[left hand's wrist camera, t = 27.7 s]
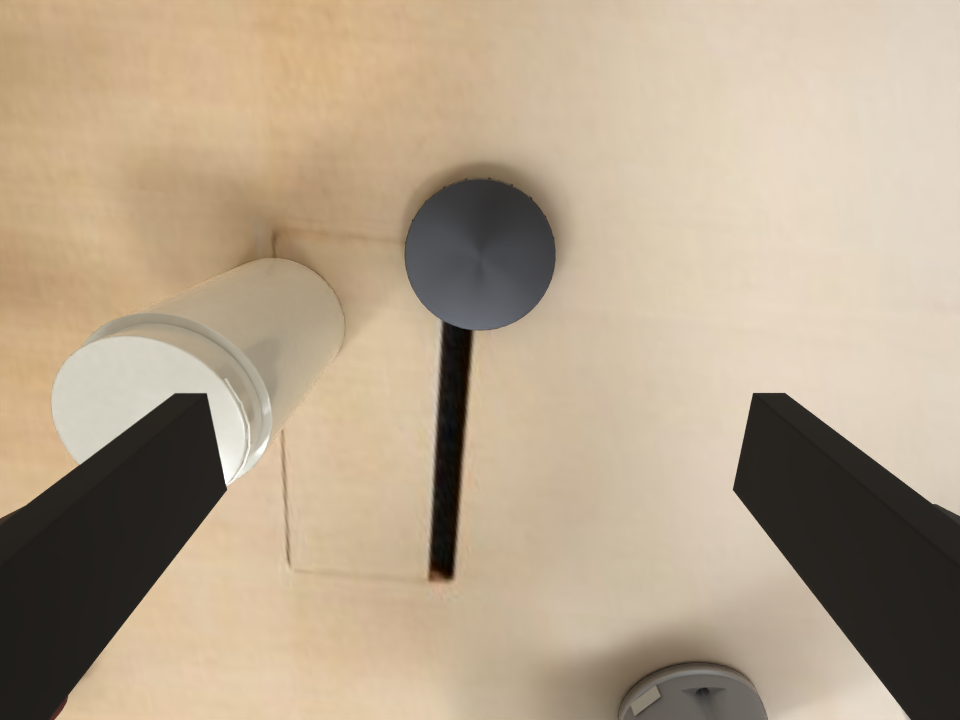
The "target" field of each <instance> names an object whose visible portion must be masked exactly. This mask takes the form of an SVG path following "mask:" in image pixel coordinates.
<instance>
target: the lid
mask: <svg viewBox="0 0 960 720" xmlns="http://www.w3.org/2000/svg"><path fill="white" fill-rule="evenodd" d="M405 243H406V245H405V264H406V265H405V266H406V270H407V274H408V278H409V281H410V283H411V286H412V288H413V290H414V292H415V293H416V295H417V297H418V298H419V299H420V301H421V302H422V303H423V305H424V306H425V307H426V308H427V309H428V310H429V311H430V312H432V313H433V314H434V315H435V316H437V317H438V318H440V319H441V320H443V321H445V322H447V323H449V324H451V325H454V326H457V327H460V328H464V329H469V330H491V329H497V328H501V327H504V326H507V325H509V324H511V323H513V322H516V321H517V320H519V319H520V318H522V317H524V316H525V315H526V314H527V313H529V312H530V311H531V310H532V309H533V308H534V307H535V306H536V305H537V304H538V302H539V301H540V300H541V298H542V297H543V296H544V294H545V292H546V290H547V288H548V286H549V284H550V281H551V279H552V275H553V271H554V266H555V244H554V237H553V234H552V231H551V228H550V226H549V223H548V221H547V219H546V216H545V215H544V214H543V212H542V211H541V210H540V208H539V207H538V206H537V205H536V203H535V202H534V201H533V200H532V198H531V197H530V196H529V197H528V196H527V195H526V194H524V193H523V192H522V191H520V190H519V189H517V188H515V187H513V185H512V184H507V183H504V182H502V181H498V180H494V179H490V178H488V179H486V178H473V179H467V178H466V179H465V180H462V181H459V182H456V183H453V184H451V185H449V186H447V187H446V186H444V187H443V189H442V190H440V191H439V192H437V193H436V194H435V195H433V196H432V197H431V198H430V199H429V200H426V201H425V204H424V205H423V206H422V207H421V209H420V210H419V211H418V213H417V214H416V216H415V218H414V219H413V220H412V224H411V226H410V228H409V232H408V235H407V239H406V242H405Z"/></svg>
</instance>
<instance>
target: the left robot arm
mask: <svg viewBox="0 0 960 720" xmlns="http://www.w3.org/2000/svg"><path fill="white" fill-rule="evenodd" d="M226 491H227V487H226V482H225V478H224V473H223V468H222V463H221V458H220V454H219V449H218V444H217V439H216V434H215V430H214V425H213V420H212V415H211V410H210V406H209V401H208V396H207V393H174V394H173V395H172V396H170V397H169V398H168V399H166V400H165V401H164V402H163V403H161V404H160V405H159V406H157V407H156V408H155V409H153V410H152V411H151V412H149V413H148V414H147V415H145V416H144V417H143V418H141V419H140V420H139V421H137V422H136V423H135V424H133V425H132V426H131V427H129V428H128V429H127V430H125V431H124V432H123V433H121V434H120V435H119V436H117V437H116V438H115V439H113V440H112V441H111V442H109V443H108V444H107V445H105V446H104V447H103V448H101V449H100V450H99V451H97V452H96V453H95V454H93V455H92V456H91V457H90V458H88V459H87V460H86V461H84V462H83V463H82V464H80V465H79V466H78V467H76V468H75V469H74V470H72V471H71V472H70V473H68V474H67V475H66V476H64V477H63V478H62V479H60V480H59V481H58V482H56V483H55V484H54V485H52V486H51V487H50V488H48V489H47V490H46V491H44V492H43V493H42V494H40V495H39V496H38V497H36V498H35V499H34V500H32V501H31V502H30V503H28V504H27V505H26V506H24V507H22V508H20V509H18V510H16V511H14V512H12V513H10V514H8V515H6V516H4V517H2V518H0V720H49V719H50V718H51V717H52V715H53V714H54V713H55V711H56V710H57V709H58V708H59V706H60V705H61V704H62V702H63V701H64V700H65V698H66V697H67V696H68V695H69V693H70V692H71V691H72V689H73V688H74V687H75V686H76V684H77V683H78V682H79V680H80V679H81V678H82V677H83V675H84V674H85V673H86V671H87V670H88V669H89V668H90V666H91V665H92V664H93V662H94V661H95V660H96V658H97V657H98V656H99V655H100V653H101V652H102V651H103V649H104V648H105V647H106V646H107V644H108V643H109V642H110V640H111V639H112V638H113V637H114V635H115V634H116V633H117V631H118V630H119V629H120V627H121V626H122V625H123V624H124V622H125V621H126V620H127V618H128V617H129V616H130V615H131V613H132V612H133V611H134V609H135V608H136V607H137V606H138V604H139V603H140V602H141V600H142V599H143V598H144V596H145V595H146V594H147V593H148V591H149V590H150V589H151V587H152V586H153V585H154V584H155V582H156V581H157V580H158V578H159V577H160V576H161V575H162V573H163V572H164V571H165V569H166V568H167V567H168V565H169V564H170V563H171V562H172V560H173V559H174V558H175V556H176V555H177V554H178V553H179V551H180V550H181V549H182V547H183V546H184V545H185V544H186V542H187V541H188V540H189V538H190V537H191V536H192V535H193V533H194V532H195V531H196V529H197V528H198V527H199V525H200V524H201V523H202V522H203V520H204V519H205V518H206V516H207V515H208V514H209V513H210V511H211V510H212V509H213V507H214V506H215V505H216V504H217V502H218V501H219V500H220V498H221V497H222V496H223V494H224V493H225V492H226ZM733 491H734V492H735V493H736V494H737V496H738V497H739V498H740V500H741V501H742V502H743V504H744V505H745V506H746V507H747V509H748V510H749V511H750V513H751V514H752V515H753V516H754V518H755V519H756V520H757V522H758V523H759V524H760V525H761V527H762V528H763V529H764V531H765V532H766V533H767V535H768V536H769V537H770V538H771V540H772V541H773V542H774V544H775V545H776V546H777V547H778V549H779V550H780V551H781V553H782V554H783V555H784V556H785V558H786V559H787V560H788V562H789V563H790V564H791V565H792V567H793V568H794V569H795V571H796V572H797V573H798V575H799V576H800V577H801V578H802V580H803V581H804V582H805V584H806V585H807V586H808V587H809V589H810V590H811V591H812V593H813V594H814V595H815V596H816V598H817V599H818V600H819V602H820V603H821V604H822V606H823V607H824V608H825V609H826V611H827V612H828V613H829V615H830V616H831V617H832V618H833V620H834V621H835V622H836V624H837V625H838V626H839V627H840V629H841V630H842V631H843V633H844V634H845V635H846V637H847V638H848V639H849V640H850V642H851V643H852V644H853V646H854V647H855V648H856V649H857V651H858V652H859V653H860V655H861V656H862V657H863V658H864V660H865V661H866V662H867V664H868V665H869V666H870V668H871V669H872V670H873V671H874V673H875V674H876V675H877V677H878V678H879V679H880V680H881V682H882V683H883V684H884V686H885V687H886V688H887V689H888V691H889V692H890V693H891V695H892V696H893V697H894V698H895V700H896V701H897V702H898V704H899V705H900V706H901V708H902V709H903V710H904V711H905V713H906V714H907V715H908V717H909V718H910V719H911V720H960V516H958V515H956V514H954V513H952V512H950V511H948V510H946V509H944V508H942V507H940V506H938V505H937V504H932V503H930V502H929V501H928V500H926V499H925V498H924V497H922V496H921V495H920V494H918V493H917V492H916V491H914V490H913V489H912V488H910V487H909V486H908V485H906V484H905V483H904V482H902V481H901V480H900V479H898V478H897V477H896V476H894V475H893V474H892V473H890V472H889V471H888V470H886V469H885V468H884V467H882V466H881V465H880V464H878V463H877V462H876V461H874V460H873V459H872V458H870V457H869V456H868V455H867V454H865V453H864V452H863V451H861V450H860V449H859V448H857V447H856V446H855V445H853V444H852V443H851V442H849V441H848V440H847V439H845V438H844V437H843V436H841V435H840V434H839V433H837V432H836V431H835V430H833V429H832V428H831V427H829V426H828V425H827V424H825V423H824V422H823V421H821V420H820V419H819V418H817V417H816V416H815V415H813V414H812V413H811V412H809V411H808V410H807V409H805V408H804V407H803V406H801V405H800V404H799V403H797V402H796V401H795V400H794V399H792V398H791V397H790V396H788V395H787V394H786V393H753V396H752V401H751V406H750V410H749V415H748V420H747V425H746V430H745V434H744V439H743V444H742V449H741V454H740V458H739V463H738V468H737V473H736V477H735V482H734V487H733ZM618 720H768V718H767V714H766V711H765V709H764V706H763V703H762V701H761V699H760V697H759V695H758V693H757V691H756V689H755V687H754V686H753V685H752V683H751V682H750V681H749V680H748V679H747V678H746V677H745V676H743V675H742V674H740V673H739V672H737V671H735V670H733V669H730V668H728V667H724V666H721V665H716V664H710V663H688V664H681V665H676V666H672V667H668V668H665V669H662V670H660V671H657V672H655V673H653V674H651V675H649V676H647V677H646V678H644V679H643V680H641V681H640V682H639V683H637V684H636V685H635V686H634V687H633V688H632V689H631V690H630V691H629V692H628V693H627V695H626V696H625V698H624V699H623V701H622V703H621V706H620V709H619V715H618Z"/></svg>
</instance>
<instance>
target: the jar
mask: <svg viewBox="0 0 960 720" xmlns="http://www.w3.org/2000/svg"><path fill="white" fill-rule="evenodd" d="M344 332H345V321H344V315H343V311H342V308H341V305H340V303H339V301H338V298H337V296H336V295H335V293H334V292H333V290H332V289H331V287H330V286H329V285H328V284H327V283H326V282H325V281H324V280H323V279H322V278H321V277H320V276H319V275H318V274H317V273H315V272H314V271H312V270H311V269H309V268H308V267H306V266H304V265H302V264H299V263H297V262H294V261H291V260H287V259H282V258H262V259H257V260H253V261H250V262H248V263H245V264H243V265H241V266H238V267H236V268H234V269H231V270H229V271H227V272H224V273H222V274H219V275H217V276H215V277H212V278H210V279H208V280H205V281H203V282H201V283H198V284H196V285H194V286H191V287H189V288H187V289H184V290H182V291H180V292H177V293H175V294H173V295H170V296H168V297H166V298H163V299H161V300H159V301H156V302H154V303H152V304H149V305H147V306H145V307H142V308H140V309H137V310H135V311H133V312H130V313H128V314H126V315H123V316H121V317H119V318H116V319H114V320H112V321H110V322H108V323H106V324H105V325H103V326H101V327H100V328H99V329H97V330H96V331H95V332H94V333H93V334H92V335H91V336H90V337H89V338H88V339H87V340H86V341H85V343H84V344H83V346H82V347H81V348H79V349H78V350H76V351H75V352H74V353H73V354H72V355H70V356H69V358H68V359H67V360H66V361H65V362H64V363H63V365H62V366H61V368H60V370H59V371H58V373H57V375H56V378H55V381H54V383H53V388H52V393H51V409H52V417H53V420H54V424H55V427H56V430H57V432H58V434H59V437H60V439H61V441H62V442H63V444H64V446H65V448H66V449H67V450H68V452H69V453H70V455H71V456H72V457H73V459H74V460H75V461H76V462H77V463H78V464H79V465H80V464H82V463H83V462H84V461H86V460H87V459H88V458H90V457H91V456H92V455H93V454H95V453H96V452H97V451H99V450H100V449H101V448H103V447H104V446H105V445H107V444H108V443H109V442H111V441H112V440H113V439H115V438H116V437H117V436H119V435H120V434H121V433H123V432H124V431H125V430H127V429H128V428H129V427H131V426H132V425H133V424H135V423H136V422H137V421H139V420H140V419H141V418H143V417H144V416H145V415H147V414H148V413H149V412H151V411H152V410H153V409H155V408H156V407H157V406H159V405H160V404H161V403H163V402H164V401H165V400H166V399H168V398H169V397H170V396H172V395H173V394H174V393H207V396H208V401H209V406H210V410H211V415H212V420H213V425H214V430H215V434H216V439H217V444H218V449H219V454H220V458H221V463H222V468H223V473H224V478H225V482H226V487H227V486H228V485H229V484H231V483H232V482H233V481H235V480H236V479H238V478H240V477H241V476H243V475H244V474H246V473H247V472H248V471H249V470H250V469H252V468H253V467H254V466H255V465H256V463H257V462H258V461H259V460H260V458H261V457H262V456H263V455H264V453H265V452H266V450H267V449H268V448H269V446H270V445H271V444H272V442H273V441H274V440H275V438H276V437H277V436H278V434H279V433H280V432H281V430H282V429H283V428H284V426H285V425H286V424H287V422H288V421H289V420H290V418H291V417H292V416H293V414H294V413H295V411H296V410H297V409H298V407H299V406H300V405H301V403H302V402H303V401H304V399H305V398H306V397H307V395H308V394H309V393H310V391H311V390H312V389H313V387H314V386H315V385H316V383H317V382H318V381H319V379H320V378H321V377H322V375H323V374H324V372H325V371H326V370H327V368H328V367H329V366H330V364H331V363H332V362H333V360H334V359H335V358H336V356H337V354H338V353H339V351H340V348H341V346H342V343H343V339H344Z"/></svg>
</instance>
